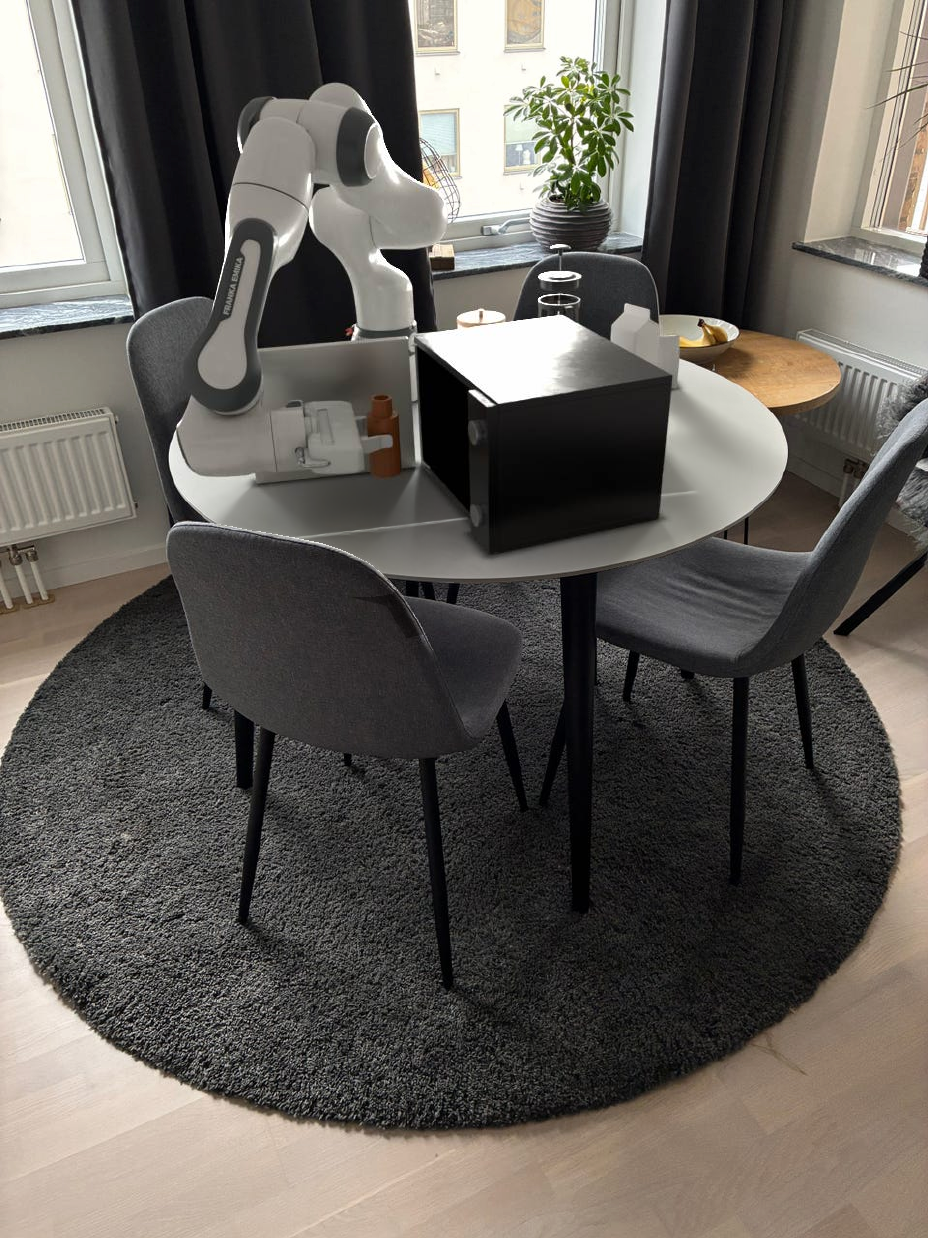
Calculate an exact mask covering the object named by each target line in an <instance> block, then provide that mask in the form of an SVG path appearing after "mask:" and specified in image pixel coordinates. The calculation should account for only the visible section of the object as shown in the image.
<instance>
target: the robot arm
mask: <svg viewBox="0 0 928 1238" xmlns="http://www.w3.org/2000/svg"><path fill="white" fill-rule="evenodd" d="M237 144H238V148H239V152H240V155H239V159H238V161H237V164H236V168H235V172H234V175H233V179H232V183H231V186H230V191H229V195H228V196H229V197H228V203H227V208H226V209H227V210H226V218H225V238H224V239H225V249H224V261H223V265H222V269H221V273H220V277H219V282H218V285H217V290H216V294H215V298H214V301H213V306H212V310H211V313H210V316H209V319H208V321H207V324H206V325H205V327H204V329H203V330H202V331H201V333H200V334H199V336H198V337H197V338H196V339H195V340H194V341H193V343H192V344H191V345H190V347H189V349H188V351H187V352H186V354H185V357H184V361H183V367H182V368H183V369H182V372H183V379H184V383H185V387H186V388H187V390H188V392H189V394H190V398H189V401H188V404H187V407H186V409H185V411H184V413H183V416H182V417H181V419H180V421H179V422H178V423H177V424H176V429H175V434H176V441H177V445H178V447H179V451H180V453H181V456H182V458H183V460H184V463H185V464H186V466H187V467H188V469H190V470H191V471H192V472H193V473H195V474H196V475H198V476H202V477H208V478H227V477H228V478H229V477H230V478H231V477H243V476H249V475H252V474H255V472H259V471H268V472H274V473H278V472H289V471H300V470H309V469H311V470H312V471H313V472H315V473H318V474H345V475H349V474H348V473H354V474H358V473H357V472H360V471H362V470H364V468H365V465H364V454H367V453H372V452H374V451H377V450H379V449H381V448H390V447H392V446H393V440H392V436H391V434H390V433H389V432H388V433H379V435H377V436H373V437H368V436H362V437H360V435H359V433H362V432H364V431H367V422H366V416H355V415H354V411H353V408H352V404H351V403H349V402H345V401H313V402H308V403H305V404H304V406H303V402H302V400H291V401H288V402H287V404H286V405H285V406H284V407H283V408H281V409H279V410H273V411H264V410H263V409H262V398H263V395H264V390H265V382H264V377H263V373H262V370H261V363H260V358H259V354H258V350H257V349H258V333H259V329H260V324H261V321H262V316H263V312H264V308H265V304H266V300H267V296H268V291H269V288H270V285H271V282H272V280H273V278H274V276H275V274H276V272H277V271H278V270H279V269H281V267H283V266H285V265H287V264H289V263H290V262H291V261H293V260H294V257H295V255H296V253H297V251H298V249H299V247H300V245H301V242H302V239H303V236H304V234H305V230H306V226H307V223H308V222H309V226H310V228H311V231H312V234H313V235H314V236H315V238H316V239H317V240H318V241H319V243H321V244H322V245H324V246H325V247H326V248H328V250H330V251H331V253H333V254H334V256H335V257H336V258H337V259H338V261H340V263H341V265H342V266H343V268H344V270H345V271H346V274H347V275H348V278H349V280H350V281H349V282H350V283H351V287H352V293H353V298H354V306H355V313H356V323H355V324H353V325H351V327H349V328H347V329H345V331H346V332H347V333H346V334H345V335H346V336H350V335H352V336H351V340H350V341H355V340H367V339H378V338H390V337H402V336H407V338H408V345H409V361H410V378H411V395H412V403H413V402H415V401H416V402H417V401H418V400H417V382H416V365H415V347H414V335H418V328H417V327H418V326H417V321H416V320H415V313H414V295H413V294H414V293H413V285H412V282H411V280H410V279H409V277H408V276H407V275H406V273H404V272H403V271H402V270H400V269H399V268H396V267H395V266H393V265H391V264H390V263H389V262H387V260H386V259H385V258H384V257H383V255H382V253H381V250H417V249H422V248H426V247H427V248H428V247H432V246H436V245H437V244H438V243H439V242H440V241H441V240H442V238H443V236H444V235H445V234H446V233H445V232H446V230H447V228H448V223H449V222H448V221H449V212H448V206H447V204H446V201H445V199H444V198H443V195H442V194H441V193H440V191H438V189H436V188H434V187H432V186H429V185H426V184H424V183H422V182H420V181H417V180H416V179H414V178H413V177H412V176H410V175H409V174H407V173H406V172H405V171H403V170H402V169H401V168H400V167H399V166H398V165H397V164H396V163H395V162H394V161H393V160H392V158H391V156H390V154H389V152H388V150H387V148H386V145H385V142H384V137H383V131H382V128H381V126H380V124H379V122H378V121H377V120H376V118H375V117H374V115H372V113H371V110H370V109H369V107H368V106H367V104H366V102H365V100H363V99H362V97H361V96H360V95H359V93H358V92H357V91H356V90H355V89H354V88H353V87H351V86H349V85H348V84H345V83H340V82H331V83H326V84H324V85H322V86H320V87H319V88H317V89H316V90H315V91H314V92H313V93H312V94H311V95H310V97H309V99H302V98H301V99H299V98H276V97H275V96H261V97H255V98H252V99H251V100H250V101H249V102H248V103H247V104H246V105H245V106H244V107H243V109H242V111H241V113H240V115H239V119H238V123H237ZM315 184H319V185H329V186H327V187H323V188H320V189H318V190H317V191H316V192H315V194H314V195H313V192H314V185H315Z"/></svg>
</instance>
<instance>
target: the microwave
mask: <svg viewBox="0 0 928 1238" xmlns="http://www.w3.org/2000/svg"><path fill="white" fill-rule="evenodd" d="M414 347H415V365H416V382H417V400H416V401H417V415H418V432H419V434H418V435H419V451H420V453H419V454H420V465H421V467H423V468H424V470H425V471H426V472H427V473H428V474H429V475H430V477H432V478H433V480H434V481H435V482H436V483H437V484H438V485H439V486H440V488H441V489H442V490H443V491H444V492H445V494H447V495H448V497H449V498H450V499H451V500H452V501H453V502H454V503H455V505H456V506H457V507H458V508H459V509H460V510H461V511H462V512H463V514H464V515H466V517H467V518H468V519H469V520H470V534H471V535H472V536H473V538H475V540H476V541H477V542H478V543H479V544H480V545H481V547H483V549H484V550H485V551H486V552H487V553H488V555H493V554H497V553H499V554H503V553H506V552H507V553H508V552H511V551H515V550H521V549H525V548H530V547H535V546H539V545H543V544H548V543H553V542H557V541H562V540H566V539H571V538H577V537H580V536H584V535H585V536H586V535H590V534H594V533H599V532H603V531H609V530H612V529H617V528H622V527H627V526H630V525H635V524H639V523H645V522H650V521H654V520H659V519H660V512H661V502H662V491H663V483H664V482H663V481H664V471H665V470H664V469H665V460H666V452H667V451H666V448H667V441H668V440H667V439H668V431H669V430H668V429H669V419H670V407H671V397H672V389H673V388H672V378H673V375H672V374H670V373H668V372H666V371H664V370H662V369H661V368H659V367H657V366H655V365H653V364H651V363H650V362H648V361H646V360H644V359H642V358H640V357H639V356H637V355H635V354H633V353H631V352H629V351H627V350H626V349H624V348H622V347H620V346H618V345H616V344H615V343H613V342H611V340H609V339H608V338H606V337H604V336H601V335H600V334H598V333H596V332H594V331H592V330H591V329H589V328H587V327H585V326H583V325H581V324H580V323H579V324H578V323H576V322H575V320H574V321H572V320H570V319H569V318H567V317H565V316H563V315H562V314H560V315H558V314H557V315H555V316H551V317H548V316H544V317H542V318H537V317H536V318H531V319H523V320H516V321H507V322H505V323H501V324H493V325H486V326H479V327H472V328H465V329H458V328H457V329H451V330H444V331H437V332H430V333H429V332H428V333H422V334H417V335H414Z"/></svg>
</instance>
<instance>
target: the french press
mask: <svg viewBox="0 0 928 1238" xmlns="http://www.w3.org/2000/svg"><path fill="white" fill-rule="evenodd" d="M550 249H551V250H553V251H557V255H558V257H559V261H558V262H559V265H558V271H557V270H556V271H547V272H544V273H540V274H539V275H538V279H539V281H540V288H541V289H543V290H544V291H545V290H546V291H549V292H550V291H551V292H558V293H557V294H547V295H543V296H541V297H539V298H538V300H537V301H538V302H537V303H538V304H537V307H538V312H537V313H538V314H537V316H538V318H543V311H547V317H551V316H556V312H557V316H558V315H563V316H565V317H567V318H569V319H570V320H572V321H574V322H576V323H578V324H580V307H581V298H579V297H578V296H576V295H572V294H563V293H561V292H568V291H573V290H576V289H578V288H579V285H580V283H579V281H580V280H581V278H582V275H581V274H579V273H577V272H574V271H564V270H563V271H562V257H563V255H564V251H567V250H570V249H571V246H570V245H567V244H555V245H552V246H550ZM561 301H563V302H571V303H568V304H561ZM556 302H557V304H556ZM560 312H562V313H560Z"/></svg>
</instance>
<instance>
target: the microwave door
mask: <svg viewBox="0 0 928 1238" xmlns="http://www.w3.org/2000/svg"><path fill="white" fill-rule="evenodd" d="M257 350H258V354H259V358H260V363H261V370H262V373H263V377H264V382H265V390H264V395H263V398H262V409H263V410H264V411H273V410H279V409H281V408H283V407H284V406H285V405H286V404H287V402H288V401H291V400H302V402H303V406H304V404H305V403H308V402H313V401H345V402H349V403H351V404H352V408H353V411H354V415H355V416H366V414H367V413H368V412H370V411H372V408H371V397H372V396H375V395H380V394H385V395H389V396H391V398H392V410H395V411H397V412H398V414H399V430H400V448H401V466H402V469H408V468H409V469H410V468H416V467H417V463H416V446H415V429H414V413H413V412H414V411H413V402H412V395H411V378H410V361H409V345H408V338H407V336H402V337H390V338H378V339H367V340H355V341H351V340H347V341H346V340H345V341H335V342H320V343H309V344H298V345H297V344H296V345H286V346H275V347H273V346H272V347H264V348H263V347H262V348H257ZM359 435H360V437H362V436H368V435H367V431H364V432H362V433H359ZM364 465H365V468H364V470H362V471H360V472H357V473H356V474H362V473H370V461H369V453H367V454H364ZM353 474H355V473H348V474H347V475H353ZM344 475H346V474H318V473H315V472H313V471H312V470H311V469H309V470H300V471H289V472H278V473H274V472H268V471H259V472H255V473H254V476H255V482H256V484H257V485H260V484H269V483H278V482H286V481H287V482H289V481H297V480H308V479H314V478H315V479H317V478H324V477H325V478H326V477H334V476H344Z"/></svg>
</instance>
